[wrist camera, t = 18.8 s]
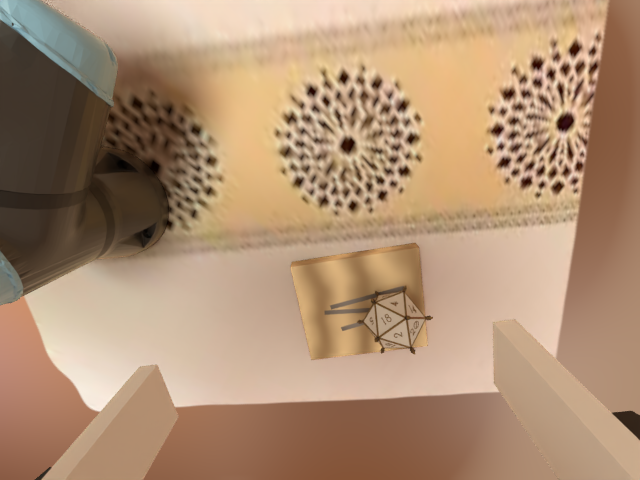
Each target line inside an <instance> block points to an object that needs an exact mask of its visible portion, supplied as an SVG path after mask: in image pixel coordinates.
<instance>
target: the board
mask: <svg viewBox="0 0 640 480" xmlns="http://www.w3.org/2000/svg"><path fill="white" fill-rule="evenodd" d="M290 268H291V272H292V277H293V281H294V285H295V290H296V294H297V299H298V303H299V307H300V312H301V316H302V321H303V325H304V329H305V334H306V338H307V343H308V347H309V351H310V356H311V360H315V359H323V358H331V357H340V356H348V355H356V354H364V353H373V352H381V351H380V350H381V348H382V346H381V345H380V344H379V343H378V342H375V340H374V339H375V337H374V336H373V335H372V334H371V332H370V331H369V330H368V328H367V327H366V326H365V325H364V323H362V324H359V323H357V321H358V320H363V319H364V318H365V316H366V314H367V313H368V311H369V309H370V307H371V306H372V304H373V303H372V302H371V299H374V300H375V299H376V297H377V295H376V294H375V291H377V292H378V293H379V295H382V294H388V293H394V292H400V291H403V287H404V286H406V287H407V289H406V291H405V293H406V294H407V295H408V296H409V297H410V299H411V300H412V301H413V302H414V304H415V305H416V306H417V307H418V308H419V310H420V311H421V312H422V313H423V314H424V316H425V310H424V299H423V288H422V277H421V266H420V254H419V247H418V246H417V245H416V243H411V244H405V245H399V246H392V247H386V248H379V249H373V250H366V251H360V252H353V253H347V254H340V255H334V256H327V257H321V258H314V259H308V260H301V261H295V262H292V264H291V267H290ZM422 346H428V344H427V333H426V322H424V324H423V326H422V328H421V330H420V332H419V334H418V336H417V338H416V340H415V342H414V344H413V346H412V348H414V347H422ZM397 349H406V348H385V351H389V350H397Z"/></svg>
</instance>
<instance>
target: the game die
mask: <svg viewBox="0 0 640 480" xmlns="http://www.w3.org/2000/svg"><path fill="white" fill-rule="evenodd" d="M406 289H407V287H406V286H404V287H403V291H400V292H394V293H388V294H382V295H379V293H378V292H377V291H375V294H376V295H377V297H376V299H375V300H374V299H371V302H372V303H373V304H372V306H371V307H370V309H369V311H368V313H367V314H366V316H365V318H364V319H363V320H358V321H357V323H359V324H362V323H364V325H365V326H366V327H367V328H368V330H369V331H370V332H371V334H372V335H373V336H374V337H375V339H374V340H375V342H378V343H379V344H380V345H381V346H382V348H381V350H380V351H381V354H382V353H383V352H384V351H385V348H410V351H411V353H413V354H415V350H414V348H412V346H413V344H414V342H415V340H416V338H417V336H418V334H419V332H420V330H421V328H422V326H423V324H424V322H425V320H426V319H427V320H431V319H432V318H433V317H431V316H427V317H425V316H424V314H423V313H422V312H421V311H420V310H419V308H418V307H417V306H416V305H415V304H414V302H413V301H412V300H411V299H410V297H409V296H408V295H407V294H406V293H405V291H406Z"/></svg>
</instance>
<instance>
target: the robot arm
mask: <svg viewBox="0 0 640 480" xmlns="http://www.w3.org/2000/svg"><path fill="white" fill-rule="evenodd" d="M117 72H118V62H117V58H116V56H115V54H114V52H113V50H112V49H111V48H110V46H109V45H108V44H107V43H106V42H105V41H104V40H102V39H101V38H100V37H98V36H97V35H95V34H94V33H92V32H91V31H89V30H88V29H86V28H84V27H83V26H81V25H80V24H78V23H77V22H75V21H73V20H72V19H70V18H69V17H67V16H66V15H64V14H62V13H61V12H59V11H58V10H56V9H54V8H53V7H51V6H50V5H48V4H46V3H45V2H43V1H42V0H0V305H3V304H6V303H12V302H15V301H17V300H18V299H20V297H22V296H24V295H26V294H28V293H30V292H32V291H34V290H36V289H38V288H40V287H42V286H44V285H46V284H48V283H50V282H52V281H54V280H56V279H58V278H60V277H61V276H63V275H65V274H67V273H69V272H71V271H73V270H75V269H77V268H79V267H81V266H83V265H85V264H87V263H89V262H91V261H94V260H96V259H108V258H120V257H127V256H131V255H134V254H137V253H139V252H141V251H143V250H145V249H147V248H148V247H150V246H152V245H153V244H154V243H155V242H156V241H157V240H158V239H159V238H160V237H161V235H162V234H163V232H164V230H165V228H166V225H167V221H168V201H167V197H166V194H165V191H164V189H163V186H162V184H161V183H160V181H159V179H158V178H157V176H156V175H155V174H154V172H153V171H152V170H151V169H150V168H149V167H148V166H147V165H146V164H145V163H144V162H142V161H141V160H140V159H138V158H137V157H135V156H133V155H132V154H130V153H127V152H125V151H122V150H119V149H115V148H100V146H101V142H102V139H103V135H104V131H105V127H106V124H107V120H108V116H109V112H110V108H111V107H113V106H114V101H113V99H112V97H113V92H114V87H115V82H116V77H117ZM493 358H494V384H495V385H496V387H497V388H498V390H499V391H500V393H501V394H502V396H503V397H504V399H505V400H506V402H507V403H508V405H509V406H510V408H511V409H512V411H513V412H514V414H515V415H516V417H517V418H518V420H519V421H520V423H521V424H522V426H523V427H524V429H525V430H526V432H527V433H528V435H529V436H530V438H531V439H532V441H533V442H534V444H535V445H536V447H537V448H538V450H539V451H540V453H541V454H542V456H543V457H544V459H545V460H546V462H547V463H548V465H549V466H550V468H551V469H552V471H553V472H554V474H555V475H556V477H557V478H558V479H559V480H640V415H638V414H636V413H635V412H633V411H625V412H614V413H611V412H610V411H609V410H608V409H607V408H606V407H605V406H604V405H603V404H602V403H601V402H599V400H598V399H596V397H595V396H593V395H592V394H591V393H590V392H589V391H588V390H587V389H586V388H585V387H584V386H583V385H582V384H581V383H580V382H579V381H578V380H577V379H576V378H575V377H574V376H573V375H572V374H571V373H570V372H569V371H567V369H566V368H565V367H564V366H563V365H562V364H560V363H559V362H558V361H557V360H556V359H555V358H554V357H553V356H552V355H551V354H550V353H549V352H548V351H547V350H546V349H545V348H544V347H543V346H542V345H541V344H540V343H539V342H538V341H537V340H536V339H535V338H534V337H533V336H532V335H531V334H530V333H529V332H527V331H526V330H525V329H524V328H523V327H522V326H521V325H520V324H519V323H518V322H517V321H516V320H515V319H514V320H506V321H499V322H493ZM177 419H178V414H177V412H176V409H175V407H174V404H173V402H172V399H171V397H170V395H169V392H168V390H167V387H166V385H165V382H164V380H163V377H162V375H161V373H160V370H159V368H158V365H150V366H142V367H139V368H138V369H137V371H136V372H135V373H134V374H133V375H132V376H131V377H130V379H129V380H128V381H127V382H126V383H125V384H124V385H123V387H122V388H121V389H120V390H119V391H118V392H117V393H116V395H115V396H114V397H113V398H112V399H111V400H110V401H109V403H108V404H107V405H106V406H105V407H104V408H103V410H102V411H101V412H100V413H99V414H98V415H97V416H96V418H95V419H94V420H93V421H92V422H91V423H90V424H89V426H88V427H87V428H86V429H85V430H84V431H83V432H82V434H81V435H80V436H79V437H78V438H77V439H76V440H75V442H74V443H73V444H72V445H71V446H70V447H69V448H68V450H67V451H66V452H65V453H64V454H63V455H62V457H61V458H60V459H59V460H58V461H57V462H56V463H55V465H54V466H53V467H49V468H48V469H47V470H46V471H45V472H44V473H42V474H41V475H40V476H39V477H37V478H36V479H35V480H143V479H144V476H145V475H146V473H147V471H148V470H149V468H150V466H151V465H152V463H153V461H154V459H155V457H156V455H157V454H158V452H159V450H160V449H161V447H162V445H163V443H164V442H165V440H166V438H167V436H168V435H169V433H170V431H171V429H172V428H173V426H174V424H175V422H176V421H177Z"/></svg>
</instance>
